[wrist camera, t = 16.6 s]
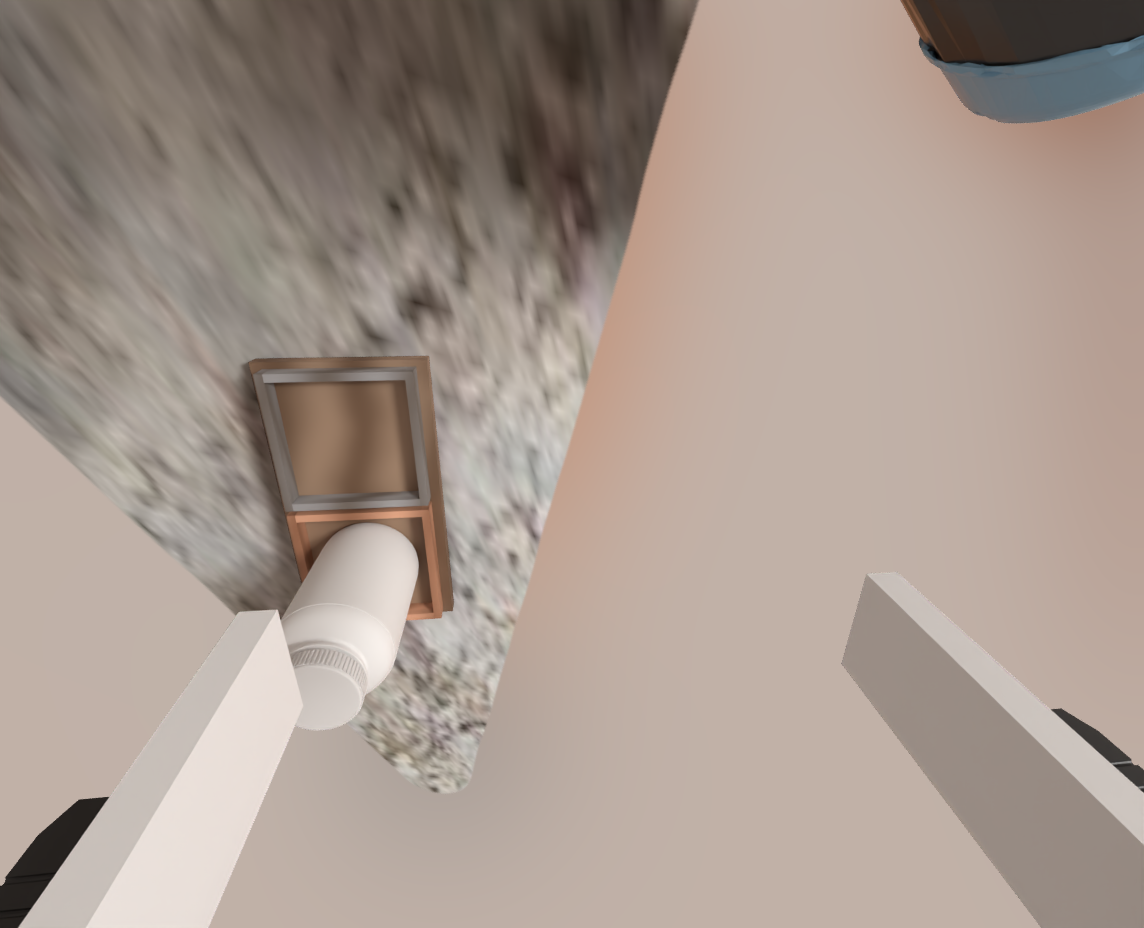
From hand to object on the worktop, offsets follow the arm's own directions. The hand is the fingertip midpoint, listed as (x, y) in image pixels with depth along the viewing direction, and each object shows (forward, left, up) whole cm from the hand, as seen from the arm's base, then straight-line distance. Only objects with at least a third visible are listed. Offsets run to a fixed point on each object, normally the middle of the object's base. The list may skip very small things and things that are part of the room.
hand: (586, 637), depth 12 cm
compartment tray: (+14, +12, -32) cm, 37 cm away
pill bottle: (+14, +18, -31) cm, 38 cm away
